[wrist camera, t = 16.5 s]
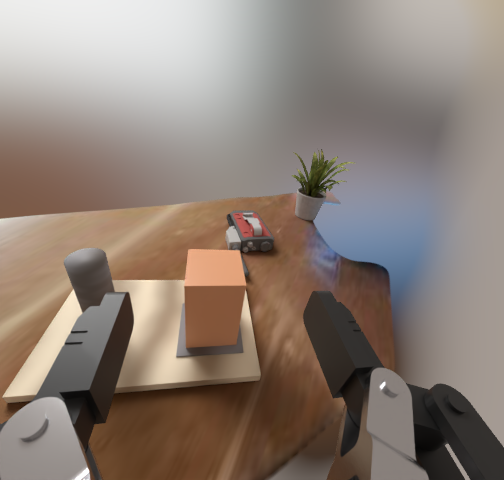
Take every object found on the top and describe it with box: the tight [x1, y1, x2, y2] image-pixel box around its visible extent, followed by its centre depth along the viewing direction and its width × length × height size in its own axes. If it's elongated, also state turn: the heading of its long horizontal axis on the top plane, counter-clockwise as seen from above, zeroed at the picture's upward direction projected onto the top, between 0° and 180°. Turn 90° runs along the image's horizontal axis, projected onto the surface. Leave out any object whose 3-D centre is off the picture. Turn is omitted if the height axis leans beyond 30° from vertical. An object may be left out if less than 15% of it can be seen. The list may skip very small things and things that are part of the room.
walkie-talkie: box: [226, 211, 274, 277], centre depth 45 cm, size 9×4×20 cm
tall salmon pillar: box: [184, 249, 246, 348], centre depth 25 cm, size 5×5×9 cm
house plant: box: [292, 150, 353, 220], centre depth 55 cm, size 14×14×16 cm
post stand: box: [2, 248, 261, 403], centre depth 25 cm, size 22×14×11 cm, turn 99°
